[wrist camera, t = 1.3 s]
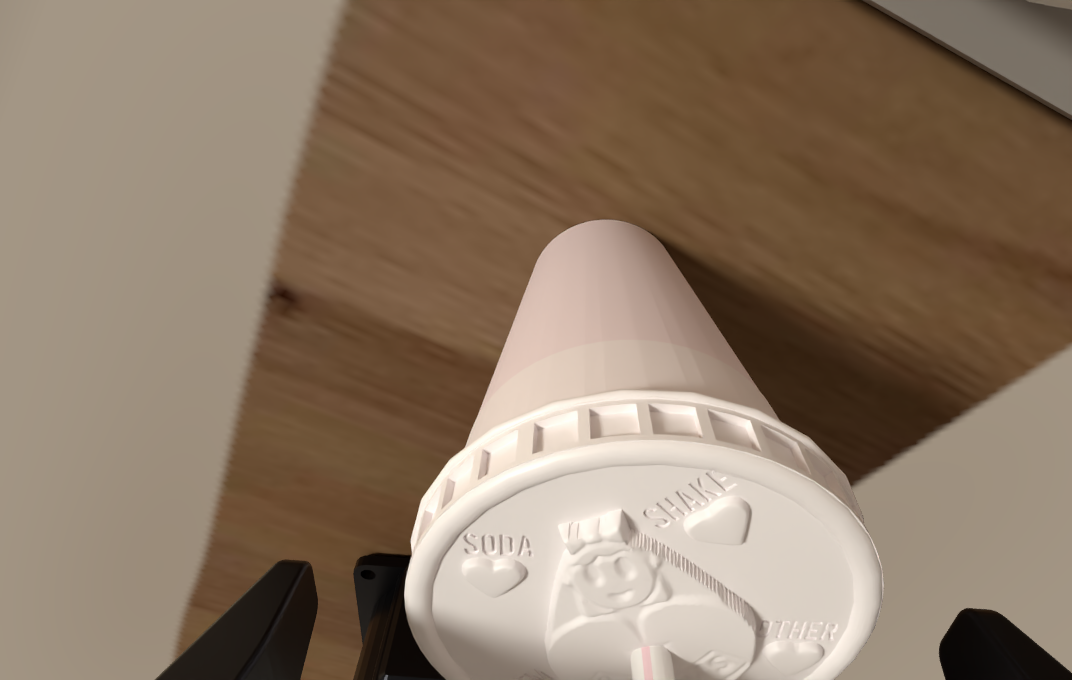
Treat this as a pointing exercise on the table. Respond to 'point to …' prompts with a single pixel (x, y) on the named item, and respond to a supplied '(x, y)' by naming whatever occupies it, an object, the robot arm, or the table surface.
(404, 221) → the table surface
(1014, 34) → the socket board
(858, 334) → the table surface
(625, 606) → the smoothie
